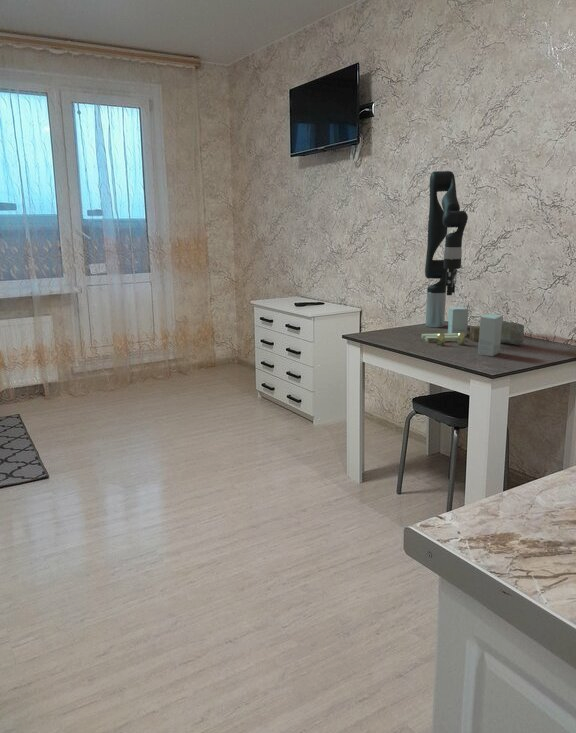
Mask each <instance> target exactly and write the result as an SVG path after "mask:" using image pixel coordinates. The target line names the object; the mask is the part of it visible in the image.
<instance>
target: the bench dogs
mask: <svg viewBox="0 0 576 733" xmlns="http://www.w3.org/2000/svg"><path fill="white" fill-rule="evenodd" d="M437 333H438V335H437V342H436V345H437V346H438V345H444V346H445V342H444V339H445V334H444V333H445V332H437ZM465 338H466V336H465V333H458V341H457V344H458V345H457V346H465V342H466V341H465V340H466V339H465Z"/></svg>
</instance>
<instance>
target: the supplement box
mask: <svg viewBox="0 0 576 733" xmlns="http://www.w3.org/2000/svg"><path fill="white" fill-rule="evenodd" d="M468 320H469V308H467V307H464V306H463V307H462V306H459V307H458V306H457V307H455V306H451V307H450V306H449V308H448V324H447V333H457V334H458V333H465V337H467V336H468V323H469V321H468Z"/></svg>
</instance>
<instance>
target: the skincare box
mask: <svg viewBox="0 0 576 733" xmlns="http://www.w3.org/2000/svg"><path fill="white" fill-rule="evenodd" d="M503 316H504V315H502V314H493V313H486V314H484V315H482V316H480V321H479V326H480V332H479V341H478V345H477V346H478V347H477V355H478V356H479V355H480V356H487V357H495V356H496V355H498V354H499V353H500V350H501V330H502V321H503V318H504V317H503Z"/></svg>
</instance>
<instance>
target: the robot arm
mask: <svg viewBox="0 0 576 733" xmlns="http://www.w3.org/2000/svg"><path fill="white" fill-rule="evenodd" d="M439 192H441V193H442V192H443V193H444V192H445V194H444V195H443V197H442V199H441V204H440V202H439V198H438V193H439ZM428 210H429V212H428V223H427V244H426V245H427V248H426V258H425V265H424V267H425V268H424V274H425V278H426V279H435V280H436V279H439V280H438V282H436V283H433V284H431V285H428V286H427V288H426V310H425V311H426V314H425V327H429V328H443V327H445V320H446V319H445V318H446V317H445V316H446V298H447V296H452V295H453V293H455V291H456V284H457V275H458V269H461V268H462V256H463V255H462V254H463V251H462V250H463V249H462V247H463V246H462V244H463V235H464V232H465V228H466V226H467V223H468V219H469V217H468V214H467V212H466V211H464V210H461V206H460V204H459V200H458V197H457V185H456V178H455V174H454V172H452V171H451V170H441V171H437V170H436V171H432V172H431V173H430V177H429V209H428ZM448 228H457V229H456V230H455V231H454V232H450V233H448ZM443 241H445V244H444V246H445V247H444V252H443V259H434V257H435V256H434V255H435V253H436V251H437V250H438V248H439V246H440V245H441V244H442V242H443Z"/></svg>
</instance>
